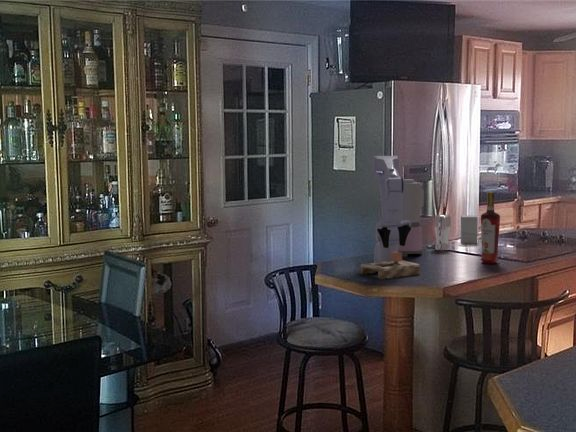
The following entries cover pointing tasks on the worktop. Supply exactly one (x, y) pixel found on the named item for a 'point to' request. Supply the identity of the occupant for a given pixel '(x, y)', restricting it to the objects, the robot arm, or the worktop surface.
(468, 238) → the supplement box
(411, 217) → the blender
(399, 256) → the keyhole peg
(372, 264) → the keyhole plate
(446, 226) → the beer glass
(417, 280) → the worktop surface
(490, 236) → the liquor
